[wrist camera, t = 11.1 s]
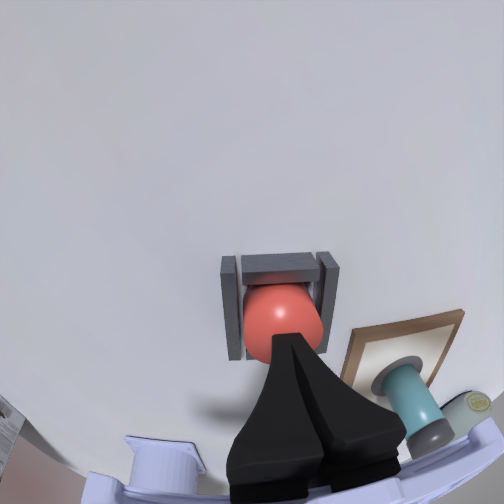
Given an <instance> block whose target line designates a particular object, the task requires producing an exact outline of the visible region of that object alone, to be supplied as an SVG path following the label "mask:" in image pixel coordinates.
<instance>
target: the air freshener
mask: <svg viewBox="0 0 504 504" xmlns="http://www.w3.org/2000/svg"><path fill="white" fill-rule="evenodd" d="M491 410H492V402H491V400H490V398H489V397H488V396H487V395H486V394H484V393H482V392H479V391H472V392H468V393H464V394H461V395H460V396H458V397H457V398H455V399H454V400H453V401H451V402H450V403H449V404H448V405H446V406H445V407H444V408H443V409H442V410H441V412H442V414H443V416H444V417H445V418H446V419H447V420H448V422H449V424H450V426H451V427H452V429H453V431H454V433H455V437H454V438H453V439H452V440H451V441H450V442H449V443H448V444H450V443H452V442H453V441H455V440H457V439H459V438H461V437H463V436H465V435H467V434H468V432H469V431H470V430H471V429H472V428H473V427H474V426H475V425H476V424H478V423H479V422H481V421H483V420H484V419H486V418H487V417H489V415H490V413H491ZM448 444H447V445H448Z"/></svg>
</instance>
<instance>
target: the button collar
mask: <svg viewBox="0 0 504 504" xmlns="http://www.w3.org/2000/svg"><path fill="white" fill-rule="evenodd" d="M241 263H242V285H255V284H275V283H292V282H308V281H314V291H313V303H314V305H315V308H316V310H317V312H318V315H319V317H320V320H321V322H322V325H323V337H322V340H321V342H320V344H319V346H318V347H317V348H316V349H315V350H314V351H315V353H316V354H321V353H326V351H327V346H328V341H329V335H330V329H331V324H332V318H333V311H334V305H335V298H336V291H337V284H338V276H339V269H340V267H339V266H338V264H337V263H336V262H335V260H334V259H333V257H332V256H331V255H330V253H329V252H317V255H316V260H315V259H314V257H313V255H312V254H311V252H308V253H287V254H265V255H243V256H241ZM220 276H221V287H222V298H223V308H224V319H225V328H226V338H227V347H228V356H229V361H231V360H241V357H240V332H239V317H238V302H237V286H236V269H235V256H222V262H221V272H220ZM254 359H255V358H254V357H253V356H251V355H250V353H249V352H248V351H247V349H246V360H254Z"/></svg>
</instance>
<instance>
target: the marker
mask: <svg viewBox="0 0 504 504" xmlns="http://www.w3.org/2000/svg"><path fill="white" fill-rule="evenodd" d="M381 386H382V389H383V391H384V393H385V395H386V397H387V399H388V401H389V404H390V406H391V408H392V410H393V412H395V413H397V414H398V415H399V417H400V418H401V420H402V421H403V423H404V425H405V427H406V430H407V434H406V436H405V439H406V441H407V443H406V445H407V447H408V449H409V452H410V454H411V457H412V459H413V460H414V459H417V458H419V457H422V456H424V455H426V454H428V453H431V452H433V451H435V450H437V449H439V448H441V447H444V446H446V445H447V444H448V443H449V442H450V441H451V440H452V439H453V438H454V437H455V433H454V431H453V429H452V427H451V426H450V424H449V422H448V420H447V419H446V418H445V417H444V416H443V414H442V412H441V410H440V408H439V407H438V405H437V403H436V401H435V400H434V398H433V396H432V395H431V393H430V391H429V389H428V388H427V386H426V384H425V383H424V381H423V379H422V378H421V376H420V375H419V373H418V371H417V370H416V368H415V366H414V365H413V364H403V365H400V366H398V367H396V368H395V369H393V370H392V371H390V372H389V373H388V374H387V375H386V376H385V377H384V379H383V381H382V383H381Z"/></svg>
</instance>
